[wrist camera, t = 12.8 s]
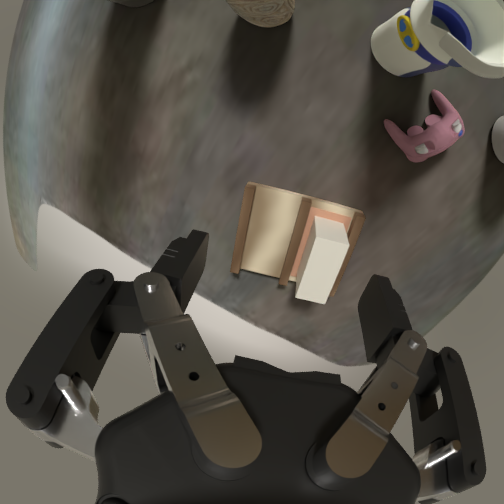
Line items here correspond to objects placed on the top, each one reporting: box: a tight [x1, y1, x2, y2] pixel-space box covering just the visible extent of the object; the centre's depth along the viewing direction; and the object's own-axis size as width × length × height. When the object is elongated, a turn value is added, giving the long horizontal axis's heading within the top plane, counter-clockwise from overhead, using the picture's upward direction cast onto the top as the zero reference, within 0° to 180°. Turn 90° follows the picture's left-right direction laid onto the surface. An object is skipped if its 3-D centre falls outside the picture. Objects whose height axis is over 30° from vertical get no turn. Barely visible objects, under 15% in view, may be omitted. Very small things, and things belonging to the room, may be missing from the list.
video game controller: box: [384, 90, 465, 162], centre depth 26 cm, size 10×5×7 cm, turn 130°
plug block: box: [295, 216, 349, 304], centre depth 36 cm, size 9×4×6 cm, turn 170°
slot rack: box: [230, 182, 366, 297], centre depth 38 cm, size 16×13×2 cm
